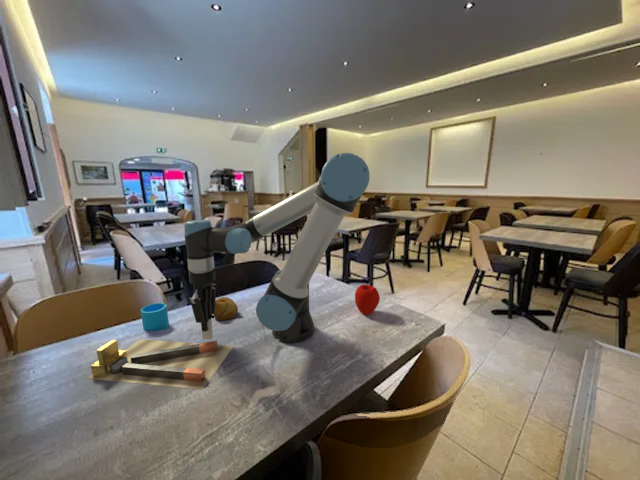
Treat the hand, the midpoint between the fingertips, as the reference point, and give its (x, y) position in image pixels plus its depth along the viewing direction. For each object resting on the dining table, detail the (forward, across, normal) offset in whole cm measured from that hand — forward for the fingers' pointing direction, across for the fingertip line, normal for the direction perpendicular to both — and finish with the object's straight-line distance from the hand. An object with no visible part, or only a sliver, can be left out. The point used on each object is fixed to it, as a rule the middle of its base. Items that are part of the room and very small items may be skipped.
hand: (207, 337), depth 90 cm
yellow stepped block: (+1, +16, -20) cm, 26 cm away
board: (+3, +11, -7) cm, 13 cm away
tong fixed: (+1, +16, -6) cm, 17 cm away
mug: (+3, -10, -26) cm, 28 cm away
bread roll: (+3, -21, -5) cm, 22 cm away
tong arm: (+1, +9, -5) cm, 10 cm away
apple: (+3, -30, +53) cm, 61 cm away
